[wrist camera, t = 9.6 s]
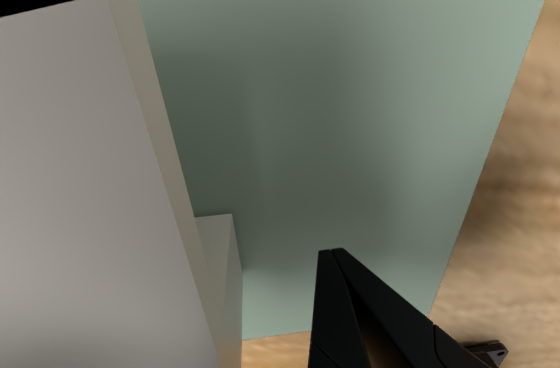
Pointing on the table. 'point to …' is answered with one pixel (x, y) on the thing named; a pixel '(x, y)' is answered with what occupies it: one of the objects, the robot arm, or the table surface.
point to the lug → (102, 204)
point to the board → (335, 131)
